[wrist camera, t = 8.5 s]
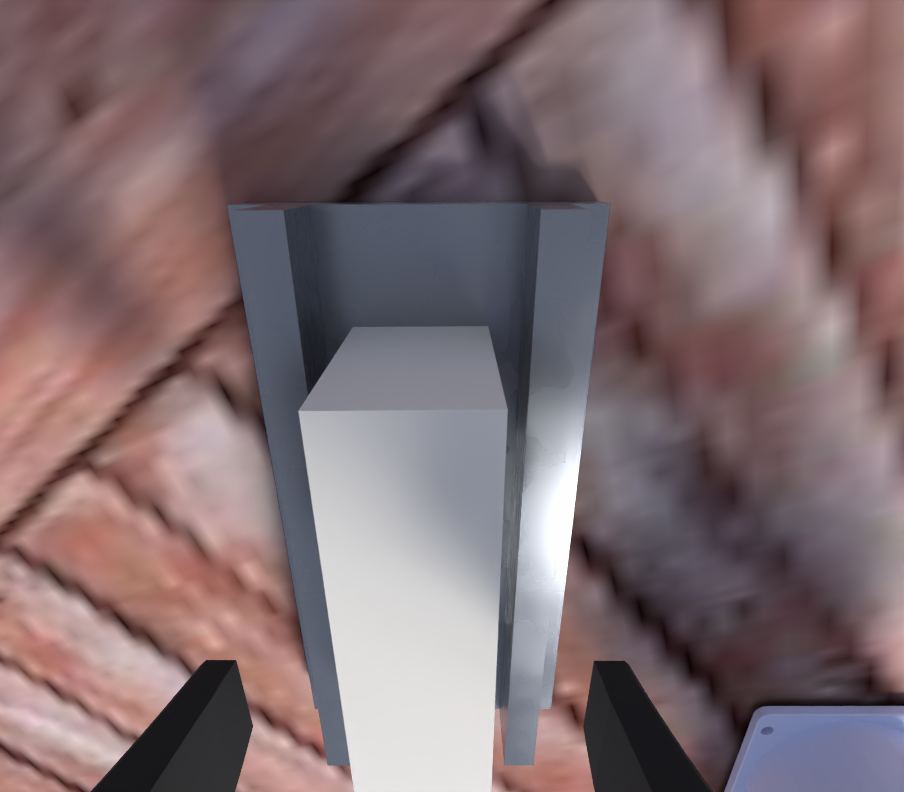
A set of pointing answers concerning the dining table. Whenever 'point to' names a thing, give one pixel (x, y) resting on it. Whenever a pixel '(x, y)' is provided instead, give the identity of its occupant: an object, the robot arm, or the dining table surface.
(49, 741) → the dining table surface
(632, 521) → the dining table surface
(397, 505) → the grey metal bar
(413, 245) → the grey u-channel tray
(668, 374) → the dining table surface
